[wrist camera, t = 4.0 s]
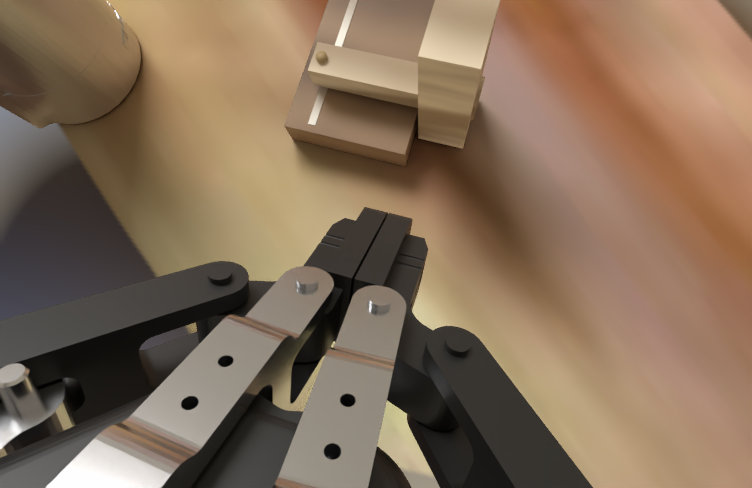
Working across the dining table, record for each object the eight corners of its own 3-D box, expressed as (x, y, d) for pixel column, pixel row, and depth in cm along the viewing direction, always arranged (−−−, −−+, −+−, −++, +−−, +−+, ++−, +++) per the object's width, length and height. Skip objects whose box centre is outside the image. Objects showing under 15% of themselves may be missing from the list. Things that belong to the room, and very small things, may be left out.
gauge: (466, 149, 30) (485, 70, 21) (315, 114, 32) (276, 26, 23) (480, 94, 31) (505, -4, 22) (333, 62, 32) (301, -42, 24)
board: (405, 166, 31) (404, 154, 29) (292, 139, 32) (284, 125, 30) (479, -83, 34) (483, -109, 32) (375, -100, 35) (372, -126, 33)
